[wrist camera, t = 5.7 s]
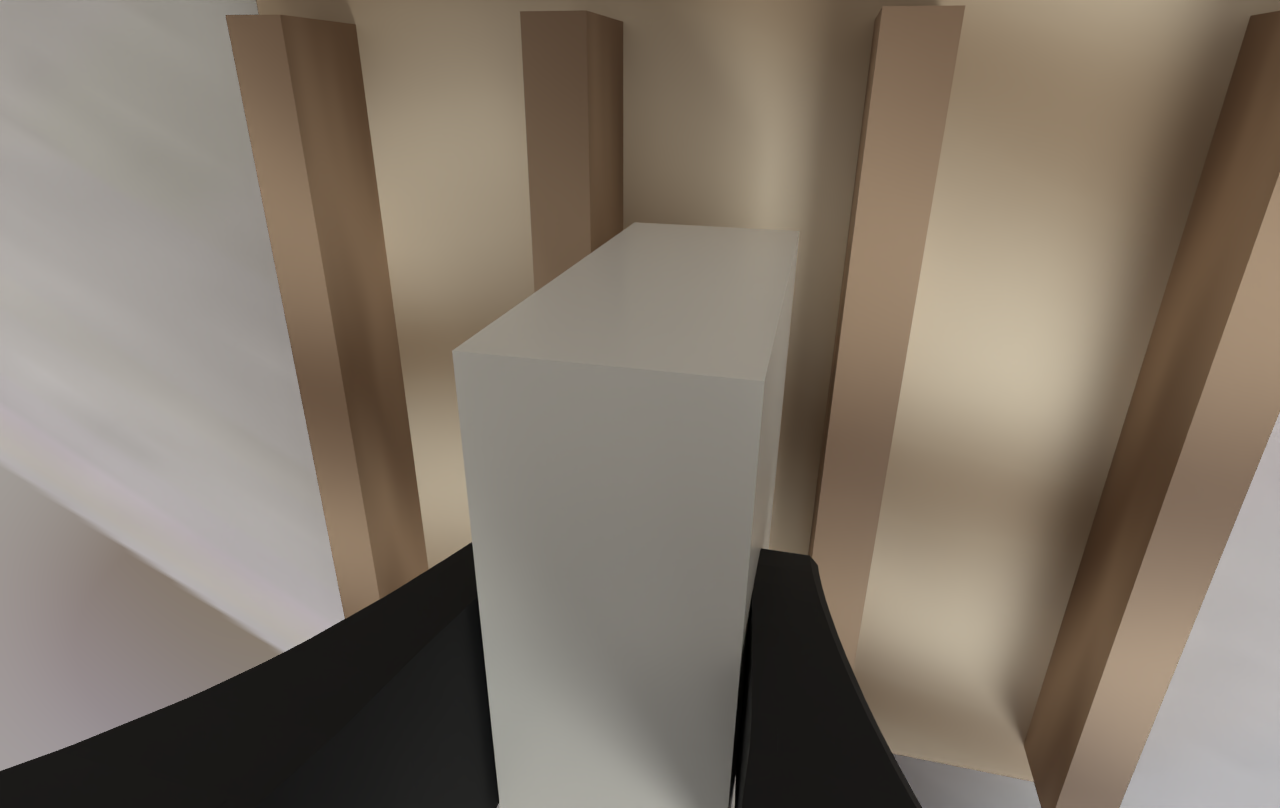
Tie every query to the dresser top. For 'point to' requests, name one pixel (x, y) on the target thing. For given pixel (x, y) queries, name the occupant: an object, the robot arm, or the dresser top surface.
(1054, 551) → the dish rack
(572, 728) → the cream slab
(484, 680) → the robot arm
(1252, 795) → the dresser top surface
